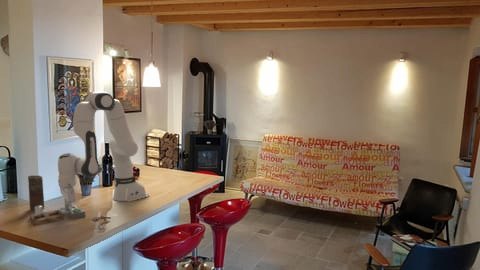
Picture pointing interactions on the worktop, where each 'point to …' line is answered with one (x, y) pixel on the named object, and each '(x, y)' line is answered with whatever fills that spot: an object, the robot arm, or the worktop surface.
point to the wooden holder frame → (47, 217)
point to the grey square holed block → (76, 213)
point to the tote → (64, 210)
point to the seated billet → (38, 212)
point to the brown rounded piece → (35, 192)
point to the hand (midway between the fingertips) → (68, 205)
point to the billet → (67, 206)
